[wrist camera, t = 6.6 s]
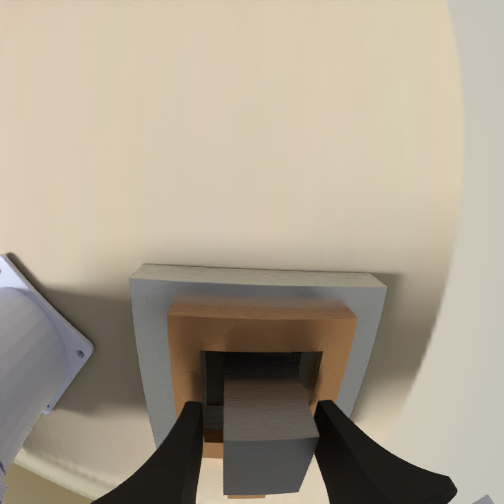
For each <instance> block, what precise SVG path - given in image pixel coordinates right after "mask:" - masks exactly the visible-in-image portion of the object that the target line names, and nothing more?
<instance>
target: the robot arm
mask: <svg viewBox="0 0 504 504" xmlns="http://www.w3.org/2000/svg"><path fill="white" fill-rule="evenodd" d="M0 268H1V270H0V504H4V502H3V501H2V499H3V497H4V495H5V492H6V490H7V488H8V487H7V485H6V484H5V483H4V481H3V478H4V475H6V473H7V471H8V469H9V468H10V466H11V464H12V462H13V460H14V459H15V457H16V455H17V453H18V452H19V450H20V448H21V447H22V445H23V443H24V442H25V440H26V438H27V437H28V435H29V433H30V432H31V430H32V429H33V427H34V425H35V424H36V422H37V421H38V419H39V417H40V416H41V414H42V413H44V414H47V415H48V414H49V413H50V412H51V410H52V409H53V407H54V406H55V404H56V403H57V401H58V400H59V398H60V397H61V396H62V394H63V393H64V391H65V390H66V388H67V387H68V386H69V384H70V383H71V381H72V380H73V379H74V377H75V376H76V374H77V373H78V372H79V370H80V369H81V368H82V366H83V365H84V364H85V362H86V361H87V360H88V358H89V357H90V356H91V354H92V353H93V351H94V347H93V344H92V343H91V342H90V341H89V340H88V339H87V338H86V337H84V336H83V335H82V334H81V333H80V332H79V331H78V330H77V329H76V328H74V327H73V326H72V325H71V324H70V323H69V322H68V321H67V320H66V319H65V318H64V317H63V316H62V315H61V314H59V313H58V312H57V311H56V310H55V309H54V308H53V307H52V306H51V305H50V304H49V303H48V302H47V301H46V300H45V299H44V298H43V297H42V295H41V294H40V293H39V292H38V291H37V290H36V289H35V288H34V287H33V286H32V285H31V284H30V283H29V282H28V280H27V279H26V278H25V277H24V276H23V275H22V274H21V273H20V271H19V270H18V269H17V268H16V267H15V266H14V264H13V263H12V262H11V261H10V260H9V258H8V257H7V256H6V255H5V254H1V255H0ZM80 351H82V352H83V353H84V354H82V353H81V352H80ZM313 418H314V421H315V424H316V427H317V430H318V433H319V436H320V437H319V440H318V443H317V446H316V448H315V451H314V454H315V457H316V460H317V463H318V465H319V468H320V471H321V474H322V477H323V480H324V483H325V486H326V489H327V493H328V497H329V502H330V504H448V502H450V501H451V500H452V499H453V497H454V496H455V495H456V493H457V488H456V487H455V485H454V483H453V482H452V480H451V479H450V478H449V476H445V475H441V474H437V473H434V472H430V471H428V470H425V469H422V468H420V467H417V466H415V465H413V464H410V463H408V462H406V461H404V460H402V459H401V458H399V457H397V456H395V455H394V454H392V453H390V452H389V451H387V450H386V449H384V448H383V447H381V446H380V445H379V444H377V443H376V442H375V441H373V440H372V439H371V438H370V437H369V436H367V435H366V434H365V433H364V432H363V431H362V430H361V429H360V428H359V427H358V426H356V425H355V424H354V423H353V422H352V421H351V420H350V419H349V418H348V417H347V416H346V415H345V414H344V412H343V411H342V410H341V409H340V408H339V407H338V406H337V405H336V404H335V403H334V402H333V401H332V400H331V399H330V400H320V401H318V402H317V406H316V410H315V413H314V417H313ZM203 438H204V428H203V410H202V402H197V401H187V402H185V404H184V407H183V409H182V411H181V413H180V415H179V417H178V419H177V420H176V422H175V424H174V426H173V427H172V429H171V430H170V432H169V433H168V435H167V436H166V438H165V439H164V441H163V442H162V443H161V445H160V446H159V447H158V449H157V450H156V451H155V452H154V453H153V455H152V456H151V457H150V458H149V459H148V460H147V461H146V462H145V463H144V464H143V465H142V466H141V467H140V468H139V469H138V470H137V471H136V472H135V473H134V474H133V475H132V476H130V477H129V478H128V479H127V480H126V481H124V482H123V483H122V484H120V485H119V486H117V487H116V488H115V489H113V490H112V491H110V492H109V493H107V494H105V495H104V496H102V497H100V498H98V499H97V500H95V501H93V502H92V503H91V504H196V492H197V485H198V479H199V473H200V467H201V460H202V454H203ZM473 504H494V503H493V502H492V500H491V498H490V497H489V496H488V495H485V496H484V497H482V498H481V499H479V500H478V501H476V502H475V503H473Z"/></svg>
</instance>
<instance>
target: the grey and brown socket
mask: <svg viewBox="0 0 504 504" xmlns="http://www.w3.org/2000/svg"><path fill="white" fill-rule="evenodd" d="M129 280H130V293H131V304H132V314H133V324H134V332H135V340H136V347H137V354H138V361H139V367H140V373H141V379H142V384H143V390H144V395H145V400H146V405H147V410H148V414H149V419H150V423H151V427H152V432H153V436H154V440H155V444H156V448H157V449H158V447H159V446H160V445H161V443H162V442H163V441H164V439H165V438H166V436H167V435H168V433H169V432H170V430H171V429H172V427H173V426H174V424H175V422H176V420H177V419H178V417H179V415H180V413H181V411H182V409H183V407H184V404H185V402H187V401H197V402H202V410H203V428H204V438H203V454H202V457H203V458H223V421H224V406H215V405H207V392H206V351H228V352H301V357H300V363H299V369H298V373H299V376H300V379H301V382H302V385H303V388H304V391H305V394H306V397H307V400H308V403H309V406H310V409H311V412H312V415H313V417H314V413H315V410H316V406H317V402H318V401H320V400H330V399H331V400H332V401H333V402H334V403H335V404H336V405H337V406H338V407H339V408H340V409H341V410H342V411H343V412H344V414H345V415H346V416H347V417H348V418H350V416H351V413H352V410H353V407H354V405H355V402H356V399H357V396H358V393H359V391H360V388H361V385H362V382H363V379H364V375H365V372H366V369H367V366H368V363H369V359H370V356H371V352H372V349H373V345H374V342H375V338H376V334H377V331H378V327H379V323H380V319H381V315H382V310H383V306H384V302H385V297H386V293H387V288H388V287H387V286H386V285H385V284H383V283H382V282H381V281H379V280H378V279H377V278H375V277H374V276H373V275H371V274H370V273H349V272H314V271H284V270H257V269H233V268H211V267H190V266H171V265H152V264H142V265H141V266H140V267H139V268H138V269H137V271H136V272H135V273H134V274H133V275H132V276H131V277H130V278H129ZM313 455H314V454H313ZM228 498H229V499H247V498H265V495H228Z"/></svg>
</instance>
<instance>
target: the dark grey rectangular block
mask: <svg viewBox="0 0 504 504" xmlns="http://www.w3.org/2000/svg"><path fill="white" fill-rule="evenodd" d="M319 437H320V436H319V433H318V430H317V427H316V424H315V421H314V418H313V415H312V412H311V409H310V406H309V403H308V400H307V397H306V394H305V391H304V388H303V385H302V382H301V379H300V376H299V373H298V370H297V367H296V364H295V361H294V358H293V355H292V352H228V351H225V361H224V421H223V492H224V495H267V494H283V493H294V492H299V489H300V487H301V485H302V482H303V480H304V477H305V475H306V472H307V470H308V467H309V465H310V462H311V459H312V457H313V454H314V451H315V448H316V446H317V443H318V440H319Z"/></svg>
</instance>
